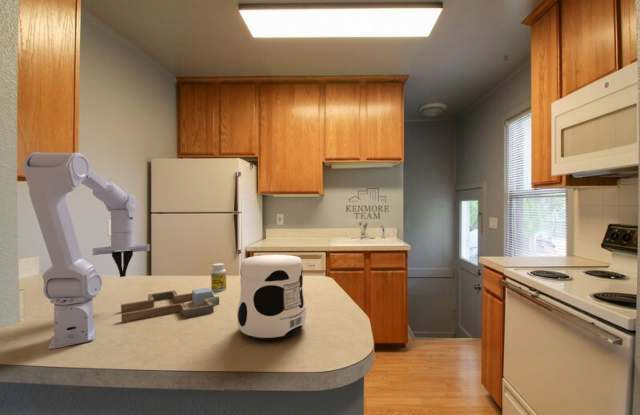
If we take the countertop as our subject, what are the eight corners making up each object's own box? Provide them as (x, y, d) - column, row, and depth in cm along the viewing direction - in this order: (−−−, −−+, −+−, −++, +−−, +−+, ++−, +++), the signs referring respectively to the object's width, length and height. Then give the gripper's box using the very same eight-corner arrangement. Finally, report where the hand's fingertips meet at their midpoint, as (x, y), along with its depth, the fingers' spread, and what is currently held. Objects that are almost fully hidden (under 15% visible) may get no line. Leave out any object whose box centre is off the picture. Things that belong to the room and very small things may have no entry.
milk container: (248, 316, 84) (247, 253, 83) (308, 317, 83) (308, 254, 83) (226, 346, 66) (226, 266, 66) (303, 347, 66) (302, 267, 66)
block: (212, 303, 95) (212, 291, 95) (195, 306, 92) (195, 293, 92) (208, 299, 99) (208, 287, 99) (192, 302, 97) (192, 290, 96)
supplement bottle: (227, 287, 113) (226, 262, 113) (225, 291, 108) (225, 265, 108) (212, 288, 112) (212, 263, 112) (210, 292, 107) (210, 265, 107)
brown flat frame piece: (225, 310, 89) (225, 302, 89) (121, 331, 74) (121, 322, 74) (206, 291, 108) (206, 285, 108) (120, 305, 93) (120, 298, 93)
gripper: (148, 230, 98) (148, 270, 98) (93, 232, 90) (93, 276, 90) (150, 231, 92) (150, 274, 92) (91, 234, 84) (92, 281, 84)
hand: (122, 276), depth 91 cm, fingers closed
